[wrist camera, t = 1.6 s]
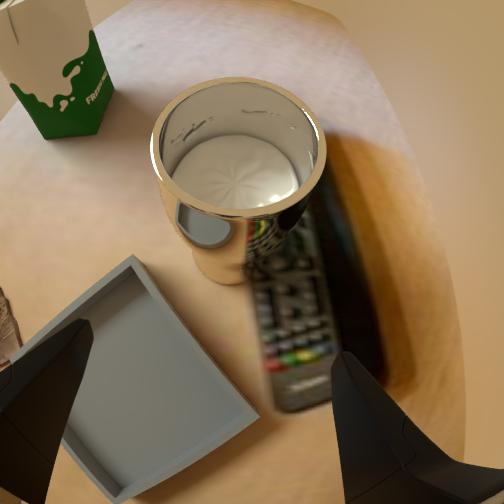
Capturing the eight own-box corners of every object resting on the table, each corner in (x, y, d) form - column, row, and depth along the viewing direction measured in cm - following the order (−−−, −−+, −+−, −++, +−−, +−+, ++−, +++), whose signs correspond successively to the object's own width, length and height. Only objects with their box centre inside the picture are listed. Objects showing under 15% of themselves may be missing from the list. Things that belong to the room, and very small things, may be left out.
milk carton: (61, 90, 28) (6, -32, 9) (124, 82, 29) (87, -65, 10) (36, 147, 26) (-53, 21, 7) (102, 141, 26) (27, -25, 7)
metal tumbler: (171, 263, 24) (106, 169, 10) (213, 194, 26) (209, 56, 12) (247, 305, 24) (284, 263, 9) (285, 232, 26) (354, 117, 11)
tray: (256, 408, 22) (260, 417, 19) (123, 493, 18) (115, 505, 16) (141, 261, 24) (132, 254, 21) (24, 358, 20) (9, 358, 18)
